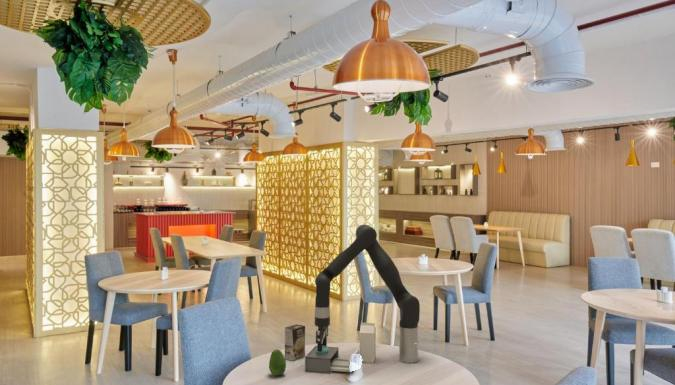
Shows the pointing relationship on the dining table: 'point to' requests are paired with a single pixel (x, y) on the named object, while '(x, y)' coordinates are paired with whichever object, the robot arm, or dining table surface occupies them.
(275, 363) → the avocado
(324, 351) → the disc
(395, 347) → the dining table surface
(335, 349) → the player housing
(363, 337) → the milk carton
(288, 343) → the coffee box
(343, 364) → the tray
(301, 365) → the dining table surface
